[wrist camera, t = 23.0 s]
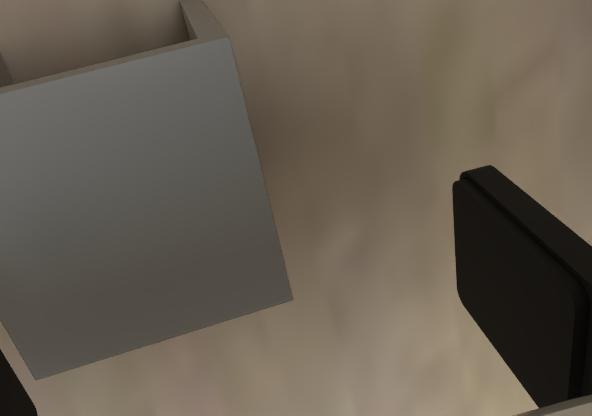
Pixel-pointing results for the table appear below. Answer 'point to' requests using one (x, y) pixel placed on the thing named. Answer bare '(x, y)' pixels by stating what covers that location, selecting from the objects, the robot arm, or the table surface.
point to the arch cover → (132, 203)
